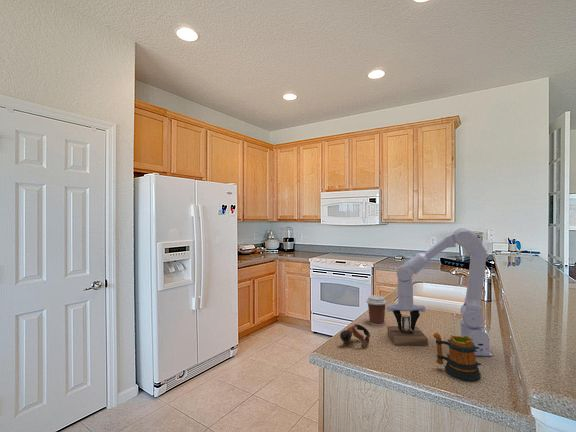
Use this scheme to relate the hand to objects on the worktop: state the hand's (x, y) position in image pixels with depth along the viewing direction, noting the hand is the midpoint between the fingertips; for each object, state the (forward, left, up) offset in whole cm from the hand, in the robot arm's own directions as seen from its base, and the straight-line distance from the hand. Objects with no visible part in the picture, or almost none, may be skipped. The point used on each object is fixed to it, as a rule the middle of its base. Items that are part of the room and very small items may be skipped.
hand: (406, 329), depth 117 cm
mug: (-25, -8, -4) cm, 27 cm away
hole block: (0, 0, -4) cm, 4 cm away
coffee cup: (+18, +8, -4) cm, 20 cm away
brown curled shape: (-6, +22, -4) cm, 23 cm away
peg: (0, 0, -4) cm, 4 cm away
